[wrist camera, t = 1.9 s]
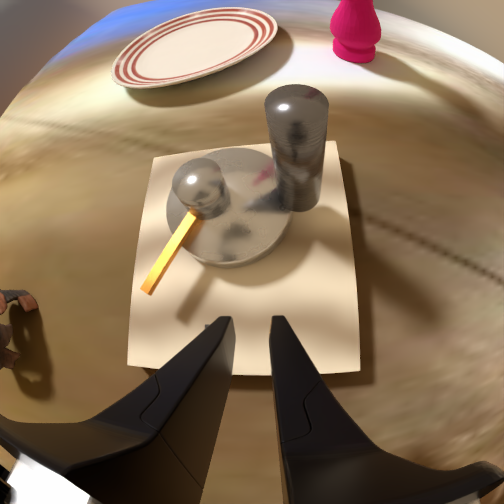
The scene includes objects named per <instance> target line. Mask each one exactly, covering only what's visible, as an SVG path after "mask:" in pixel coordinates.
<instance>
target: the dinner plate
mask: <svg viewBox="0 0 504 504" xmlns="http://www.w3.org/2000/svg"><path fill="white" fill-rule="evenodd" d="M277 29H278V26H277V23H276V21H275V20H274V19H273V18H272V17H271V16H270V15H268V14H266V13H264V12H261V11H258V10H255V9H249V8H239V7H226V8H214V9H208V10H202V11H198V12H193V13H190V14H186V15H183V16H180V17H177V18H174V19H172V20H169V21H167V22H164V23H162V24H160V25H158V26H156V27H154V28H152V29H151V30H149V31H147V32H145V33H144V34H142V35H141V36H139V37H138V38H137V39H135V40H134V41H133V42H131V43H130V44H129V45H128V46H127V47H126V48H125V49H124V50H123V51H122V52H121V53H120V54H119V56H118V57H117V58H116V60H115V61H114V63H113V66H112V69H111V77H112V79H113V81H114V82H115V83H117V84H118V85H121V86H123V87H128V88H135V89H145V88H157V87H164V86H169V85H174V84H179V83H183V82H187V81H190V80H194V79H197V78H200V77H204V76H206V75H209V74H212V73H215V72H217V71H220V70H223V69H225V68H227V67H230V66H232V65H234V64H236V63H238V62H240V61H242V60H244V59H246V58H248V57H249V56H251V55H253V54H254V53H256V52H257V51H259V50H260V49H262V48H263V47H264V46H266V45H267V44H268V43H269V42H270V41H271V40H272V39H273V38H274V37H275V35H276V33H277Z"/></svg>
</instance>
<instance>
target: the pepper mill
mask: <svg viewBox="0 0 504 504" xmlns="http://www.w3.org/2000/svg"><path fill="white" fill-rule="evenodd" d="M330 30H331V33H332V34H333V35H334V37H335V38H334V40H333V51H334V53H335V54H336V55H337V56H338V57H340V58H342V59H344V60H347V61H350V62H355V63H367V62H370V61H372V60H373V59H374V57H375V50H376V48H375V46H374V44H376V43H377V42H378V41H379V40H380V38H381V27H380V23H379V20H378V17H377V15H376V13H375V10H374V6H373V0H341V2H340V4H339V6H338V8H337V9H336V10H335V12H334V14H333V16H332V18H331V23H330Z"/></svg>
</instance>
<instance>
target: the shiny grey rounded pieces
mask: <svg viewBox="0 0 504 504" xmlns="http://www.w3.org/2000/svg"><path fill="white" fill-rule="evenodd" d="M264 105H265V112H266V118H267V124H268V131H269V137H270V144H271V151H272V158H271V157H270V156H268V155H266V154H264V153H262V152H259V151H256V150H253V149H248V148H226V149H221V150H217V151H213V152H211V153H208V154H206V155H204V156H202V157H200V158H196V159H192V160H190V161H188V162H186V163H184V164H183V165H182V166H181V167H180V168H179V169H178V170H177V171H176V173H175V174H174V177H173V180H172V188H171V190H170V193H169V196H168V200H167V205H166V217H167V222H168V226H169V229H170V231H171V233H172V235H173V236H172V238H171V239H170V241H169V242H168V244H167V246H166V247H165V249H164V250H163V252H162V253H161V255H160V257H159V258H158V260H157V261H156V263H155V265H154V266H153V268H152V269H151V271H150V273H149V274H148V276H147V278H146V279H145V281H144V283H143V284H142V286H141V288H140V289H141V290H142V291H144V292H145V293H146V294H148V295H150V296H151V295H152V294H153V292H154V290H155V289H156V287H157V285H158V284H159V282H160V281H161V279H162V277H163V276H164V274H165V272H166V271H167V269H168V268H169V266H170V264H171V263H172V261H173V260H174V258H175V256H176V255H177V253H178V252H179V250H180V248H181V247H183V248H184V249H185V250H186V251H187V252H188V253H189V254H190V255H191V256H192V257H194V258H195V259H197V260H198V261H200V262H202V263H204V264H207V265H210V266H213V267H219V268H237V267H242V266H247V265H249V264H252V263H255V262H257V261H259V260H261V259H263V258H264V257H265V256H267V255H268V254H270V253H271V252H272V251H273V250H274V249H275V248H276V247H277V246H278V245H279V244H280V243H281V242H282V240H283V239H284V237H285V236H286V234H287V232H288V230H289V227H290V224H291V221H292V215H293V211H294V212H305V211H308V210H310V209H312V208H313V207H315V206H316V204H317V203H318V201H319V199H320V193H321V184H322V175H323V166H324V156H325V145H326V134H327V122H328V108H329V103H328V100H327V98H326V96H325V95H324V94H323V93H322V92H320V91H319V90H317V89H315V88H313V87H310V86H306V85H300V84H292V85H285V86H282V87H279V88H277V89H275V90H273V91H272V92H271V93H270V94H269V95H268V96H267V97H266V99H265V104H264Z"/></svg>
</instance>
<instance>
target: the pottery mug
mask: <svg viewBox="0 0 504 504" xmlns="http://www.w3.org/2000/svg"><path fill="white" fill-rule="evenodd" d="M13 300H18V302H19V303H20V304H21V306H22V307H23V309H24V310H25V312H28V311H31V310H32V309H38V305H37V303H36V301H35V300H34V298H33V297H32V296H31V295H30V294H29V293H28V292H27V291H25V290H1V289H0V315H1V314H3V313H4V312H5V310H6V309H7V303H9V302H11V301H13ZM12 334H13V327H12V324H8V325H6V326H5V325H3V324H0V369H1V368H3V367H5V368H9V369H13V368H14V365H15V360H16V359H17V358H18V357H19V356H20V353H17V352H13V351H11V350H9V349H7V348H5V347H6V346H8V344H9V342H10V338H11V336H12Z"/></svg>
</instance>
